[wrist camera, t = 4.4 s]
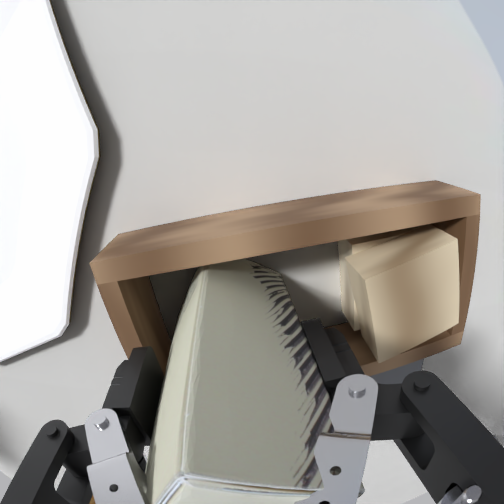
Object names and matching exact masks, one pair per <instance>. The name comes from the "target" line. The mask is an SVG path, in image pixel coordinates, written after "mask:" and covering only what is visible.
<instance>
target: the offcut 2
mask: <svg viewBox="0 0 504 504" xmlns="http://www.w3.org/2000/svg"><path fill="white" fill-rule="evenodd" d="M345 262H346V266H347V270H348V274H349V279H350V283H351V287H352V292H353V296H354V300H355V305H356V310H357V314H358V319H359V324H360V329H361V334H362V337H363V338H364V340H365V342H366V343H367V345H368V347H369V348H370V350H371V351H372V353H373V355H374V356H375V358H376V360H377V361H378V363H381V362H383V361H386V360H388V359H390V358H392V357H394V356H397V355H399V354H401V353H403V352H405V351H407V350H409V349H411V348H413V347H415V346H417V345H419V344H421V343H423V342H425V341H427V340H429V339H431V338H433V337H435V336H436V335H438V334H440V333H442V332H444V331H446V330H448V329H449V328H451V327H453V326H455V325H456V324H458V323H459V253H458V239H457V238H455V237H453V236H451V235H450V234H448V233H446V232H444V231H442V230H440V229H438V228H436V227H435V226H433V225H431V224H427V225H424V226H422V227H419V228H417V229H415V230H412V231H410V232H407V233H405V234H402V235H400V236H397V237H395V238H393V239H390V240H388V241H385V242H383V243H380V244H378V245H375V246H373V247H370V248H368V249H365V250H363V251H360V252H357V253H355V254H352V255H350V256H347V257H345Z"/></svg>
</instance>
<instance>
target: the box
mask: <svg viewBox="0 0 504 504" xmlns="http://www.w3.org/2000/svg"><path fill="white" fill-rule="evenodd" d="M331 406H332V403H331V400H330V396H329V394H328V392H327V390H326V387H325V385H324V382H323V379H322V377H321V375H320V372H319V369H318V366H317V364H316V361H315V359H314V356H313V354H312V351H311V349H310V346H309V344H308V341H307V338H306V336H305V334H304V331H303V328H302V326H301V324H300V322H299V318H298V316H297V314H296V311H295V308H294V306H293V304H292V301H291V298H290V296H289V293H288V291H287V289H286V286H285V284H284V281H283V279H282V276H281V274H280V273H278V272H276V271H273V270H271V269H269V268H266V267H264V266H262V265H259V264H257V263H254V262H252V261H249V260H247V259H245V258H243V259H237V260H232V261H226V262H221V263H215V264H210V265H204V266H199V267H198V268H197V270H196V272H195V275H194V277H193V279H192V282H191V284H190V287H189V289H188V292H187V294H186V297H185V299H184V302H183V305H182V307H181V310H180V313H179V315H178V318H177V322H176V327H175V332H174V336H173V340H172V345H171V349H170V353H169V358H168V362H167V367H166V371H165V375H164V380H163V384H162V388H161V393H160V398H159V402H158V407H157V412H156V417H155V422H154V427H153V432H152V437H151V443H150V448H149V454H148V459H147V465H146V471H145V474H146V475H147V489H146V492H145V493H146V496H147V498H148V500H149V504H294V502H295V501H300V500H304V499H307V498H309V497H310V495H311V494H312V493H313V492H315V491H317V490H323V489H324V485H323V481H322V478H321V474H320V471H319V468H318V465H317V462H316V459H315V455H314V449H315V446H316V443H317V440H318V437H319V435H320V433H321V432H329V433H333V432H334V427H333V424H332V422H331V419H330V417H329V413H330V409H331ZM330 474H332V475H339V474H340V473H339V472H337V471H331V472H330ZM364 491H365V490H364V487H363V484H362V482H361V486H360V490H359V494H358V497H360V496H361V495H362V494H363V493H364ZM358 497H357V498H358Z"/></svg>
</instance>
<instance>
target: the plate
mask: <svg viewBox="0 0 504 504" xmlns="http://www.w3.org/2000/svg"><path fill="white" fill-rule="evenodd" d="M99 159H100V142H99V129H98V127H97V124H96V122H95V120H94V117H93V115H92V113H91V110H90V108H89V106H88V103H87V101H86V98H85V96H84V93H83V91H82V88H81V86H80V83H79V81H78V78H77V76H76V73H75V71H74V68H73V65H72V63H71V60H70V57H69V54H68V52H67V49H66V46H65V43H64V40H63V38H62V35H61V32H60V29H59V26H58V23H57V20H56V17H55V13H54V10H53V7H52V4H51V0H0V362H2V361H4V360H6V359H9V358H11V357H13V356H16V355H18V354H20V353H23V352H25V351H27V350H30V349H32V348H34V347H37V346H39V345H42V344H44V343H46V342H49V341H51V340H53V339H56V338H58V337H60V336H62V334H63V333H64V331H65V330H66V328H67V327H68V325H69V323H70V318H71V307H72V297H73V288H74V280H75V273H76V266H77V259H78V253H79V247H80V241H81V236H82V231H83V225H84V221H85V216H86V211H87V207H88V202H89V198H90V194H91V189H92V185H93V182H94V178H95V174H96V170H97V166H98V163H99Z"/></svg>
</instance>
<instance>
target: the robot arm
mask: <svg viewBox="0 0 504 504" xmlns="http://www.w3.org/2000/svg"><path fill="white" fill-rule="evenodd" d="M301 326H302V328H303V331H304V334H305V336H306V338H307V341H308V344H309V346H310V349H311V351H312V354H313V356H314V359H315V361H316V364H317V366H318V369H319V372H320V375H321V377H322V379H323V382H324V385H325V387H326V390H327V392H328V394H329V396H330V400H331V403H332V406H331V409H330V413H329V417H330V419H331V422H332V424H333V427H334V432H333V433H329V432H321V433H320V435H319V437H318V440H317V443H316V446H315V449H314V455H315V459H316V462H317V465H318V468H319V471H320V474H321V478H322V481H323V485H324V489H323V490H317V491H315V492H313V493H312V494H311V495H310V497H309V498H307V499H304V500H300V501H295V502H294V504H356V501H357V497H358V494H359V490H360V486H361V482H362V477H363V473H364V469H365V464H366V459H367V454H368V449H369V444H370V441H374V440H394V442H395V443H396V445H397V446H398V448H399V449H400V450H401V452H402V453H403V455H404V456H405V458H406V459H407V461H408V462H409V464H410V465H411V467H412V468H413V470H414V471H415V473H416V474H417V476H418V477H419V479H420V480H421V482H422V483H423V485H424V486H425V488H426V489H427V491H428V492H429V493H430V495H431V497H432V498H433V499H434V501H435V503H436V504H504V448H503V446H502V445H501V444H500V443H499V441H498V440H497V438H496V437H495V436H493V435H492V434H491V433H490V432H489V431H488V430H487V429H486V428H485V427H484V425H483V424H482V423H481V422H480V421H479V420H478V419H477V418H476V417H475V416H474V415H473V414H472V413H471V411H470V410H469V409H468V408H467V407H466V406H465V405H464V404H463V403H462V402H461V401H460V400H459V399H458V398H457V397H456V396H455V395H454V393H453V392H452V391H451V390H450V389H449V388H448V387H447V386H446V385H445V384H444V383H443V382H442V381H441V380H440V379H439V378H438V377H437V376H436V375H435V374H433V373H431V372H428V371H415V372H412V373H410V374H408V375H407V376H406V377H405V378H404V380H403V382H402V383H400V384H379V383H376V381H375V380H374V379H373V378H371V377H369V376H367V375H365V374H364V372H363V370H362V368H361V366H360V364H359V363H358V361H357V359H356V357H355V355H354V353H353V351H352V350H351V348H350V346H349V344H348V343H347V340H346V339H345V337H344V335H343V333H341V332H340V331H338V330H337V329H335V328H334V327H333V328H329V329H324V327H323V325H322V323H321V321H320V319H319V318H317V319H313V320H308V321H303V322H301ZM163 380H164V374H163V371H162V369H161V367H160V364H159V362H158V360H157V357H156V355H155V353H154V350H153V348H152V347H151V346H146V347H137V348H133V349H132V352H131V354H130V357H129V360H124V361H123V362H122V363H121V365H120V366H119V367H118V368H117V370H116V372H115V375H114V379H113V380H112V383H111V386H110V388H109V391H108V393H107V396H106V399H105V401H104V404H103V407H102V409H99V410H97V411H95V412H93V413H92V414H90V415H89V416H88V418H87V419H86V422H85V424H84V425H80V426H76V427H72V428H69V427H68V426H67V425H66V424H65V422H63V421H61V420H52V421H50V422H48V423H46V424H45V425H44V426H43V427H42V428H41V430H40V432H39V433H38V435H37V437H36V438H35V440H34V442H33V444H32V445H31V447H30V449H29V450H28V452H27V454H26V456H25V458H24V459H23V461H22V463H21V465H20V467H19V468H18V470H17V472H16V474H15V476H14V478H13V480H12V482H11V484H10V485H9V487H8V489H7V491H6V493H5V495H4V497H3V499H2V501H1V503H0V504H89V503H90V500H91V498H92V495H93V496H94V500H95V503H96V504H149V500H148V498H147V496H146V493H145V492H146V489H147V475H146V474H145V471H146V465H147V457H146V455H145V454H144V452H143V451H144V446H150V443H151V437H152V432H153V427H154V422H155V417H156V412H157V407H158V402H159V398H160V393H161V388H162V384H163ZM62 465H63V466H64V467H65V468H66V471H65V473H64V475H63V477H62V480H61V482H60V484H59V486H58V488H57V491H55V488H54V481H55V479H56V477H57V475H58V473H59V471H60V468H61V466H62ZM331 471H337V472H339V473H340V474H339V475H332V474H330V472H331Z"/></svg>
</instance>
